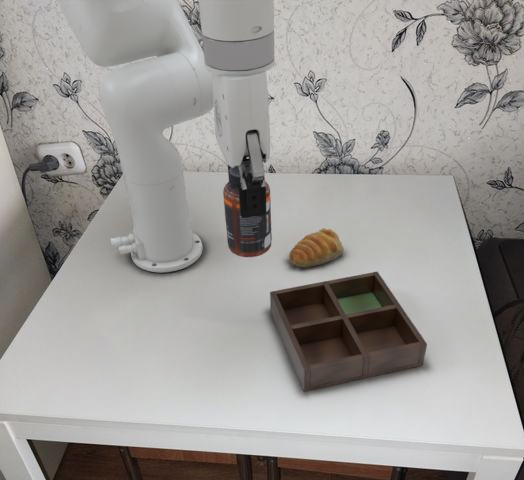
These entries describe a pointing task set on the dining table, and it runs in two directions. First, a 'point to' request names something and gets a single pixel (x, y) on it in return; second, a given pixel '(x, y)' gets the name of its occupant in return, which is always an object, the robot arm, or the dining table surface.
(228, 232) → the supplement bottle
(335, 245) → the pastry
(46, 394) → the dining table surface
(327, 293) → the grid
